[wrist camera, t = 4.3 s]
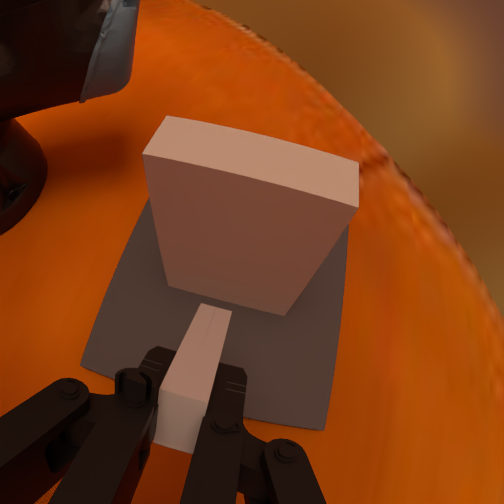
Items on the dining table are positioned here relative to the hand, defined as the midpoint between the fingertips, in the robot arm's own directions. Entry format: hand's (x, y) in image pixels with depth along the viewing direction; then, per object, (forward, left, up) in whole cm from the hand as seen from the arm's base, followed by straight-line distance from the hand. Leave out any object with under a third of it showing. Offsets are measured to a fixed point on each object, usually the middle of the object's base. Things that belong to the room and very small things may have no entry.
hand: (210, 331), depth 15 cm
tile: (-6, +4, -10) cm, 12 cm away
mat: (-10, +6, -11) cm, 16 cm away
